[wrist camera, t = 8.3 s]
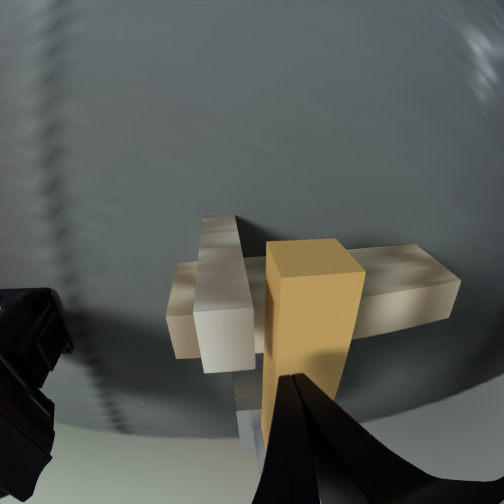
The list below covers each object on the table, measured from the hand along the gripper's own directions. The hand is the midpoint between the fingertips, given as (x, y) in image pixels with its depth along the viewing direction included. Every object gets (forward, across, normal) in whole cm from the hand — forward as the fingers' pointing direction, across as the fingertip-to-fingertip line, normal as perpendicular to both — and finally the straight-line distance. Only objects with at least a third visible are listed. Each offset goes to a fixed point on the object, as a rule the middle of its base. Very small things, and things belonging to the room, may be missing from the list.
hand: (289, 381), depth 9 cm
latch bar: (+5, -1, +5) cm, 7 cm away
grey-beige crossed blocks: (+12, -4, +1) cm, 12 cm away
